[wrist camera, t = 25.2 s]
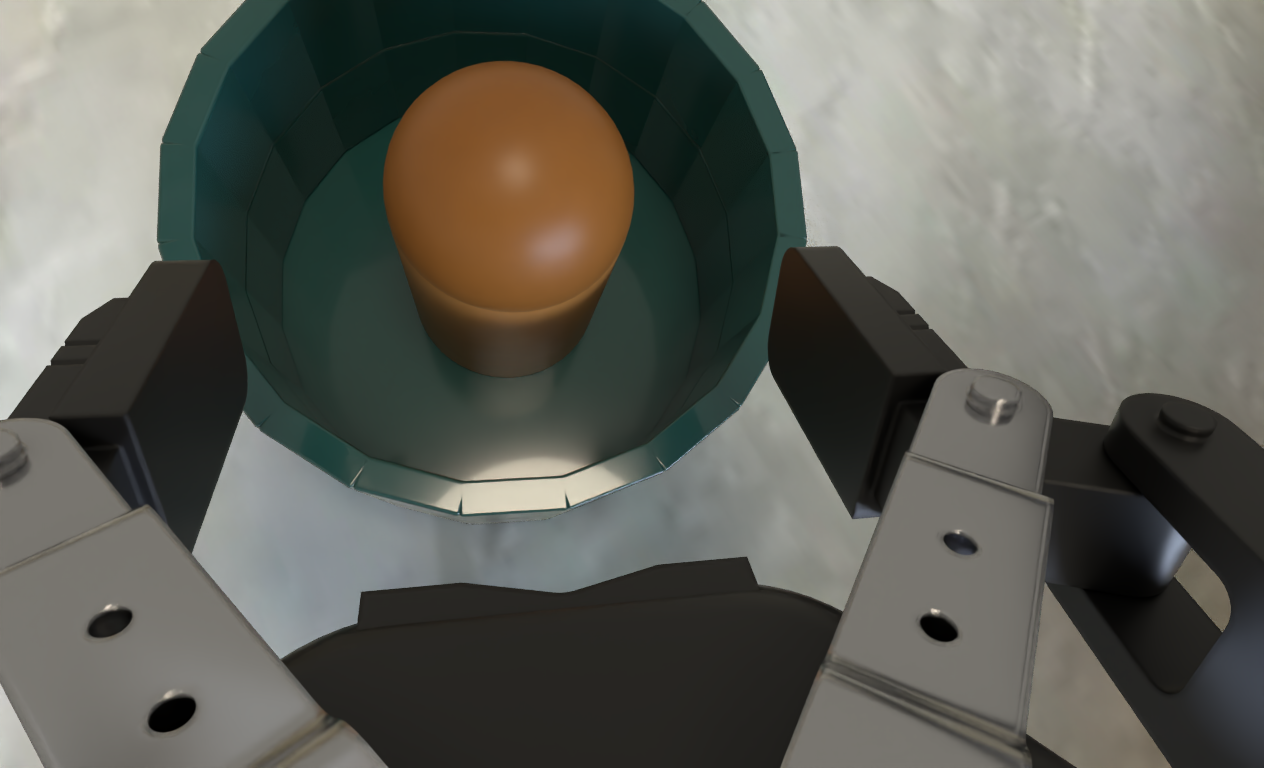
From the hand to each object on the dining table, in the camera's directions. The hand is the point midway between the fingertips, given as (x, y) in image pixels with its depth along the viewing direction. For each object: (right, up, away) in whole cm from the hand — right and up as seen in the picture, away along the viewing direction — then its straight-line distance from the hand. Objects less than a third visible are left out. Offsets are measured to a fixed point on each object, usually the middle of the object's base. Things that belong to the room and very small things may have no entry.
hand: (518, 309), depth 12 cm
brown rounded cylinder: (-2, +2, +12) cm, 12 cm away
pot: (-2, +2, +12) cm, 13 cm away
